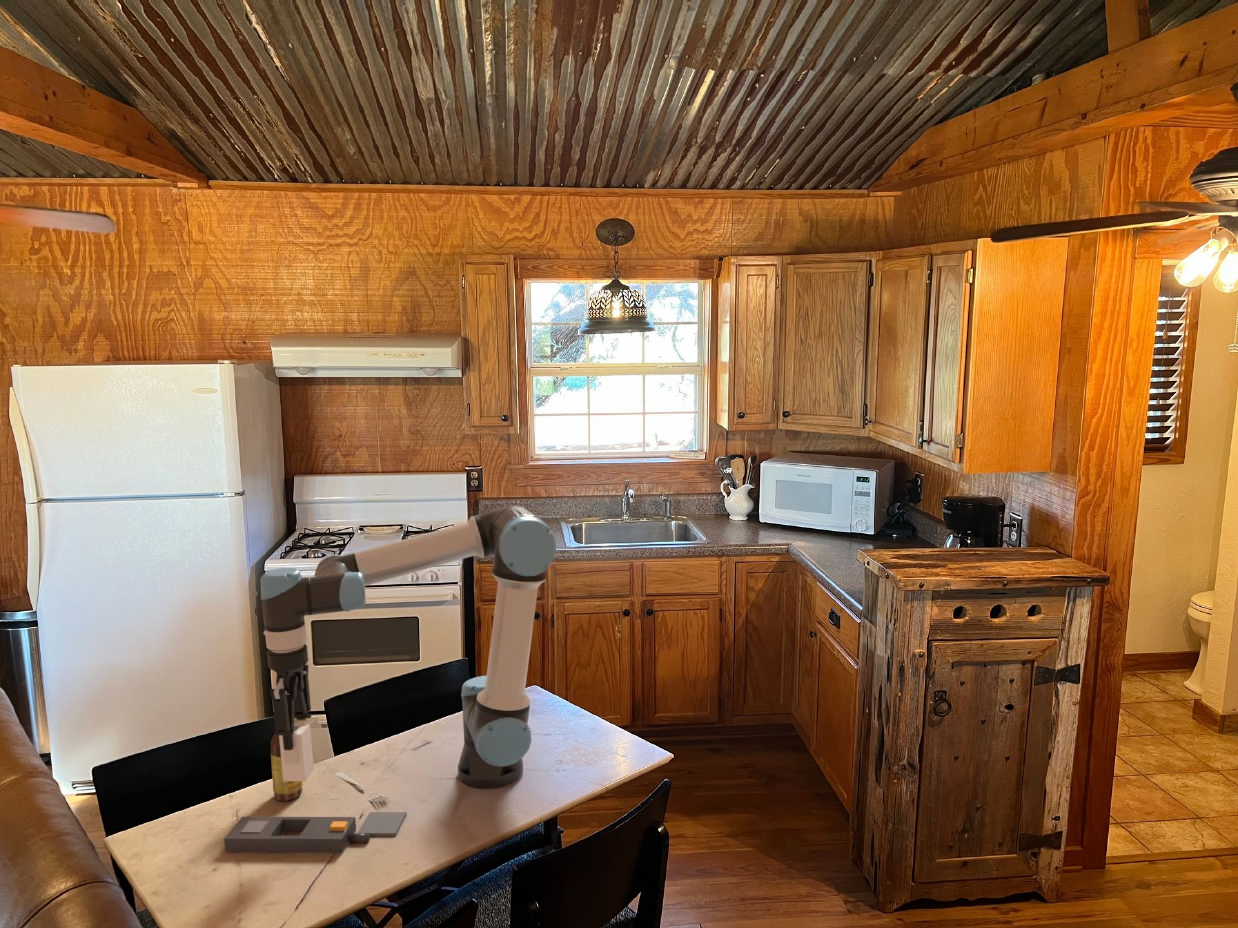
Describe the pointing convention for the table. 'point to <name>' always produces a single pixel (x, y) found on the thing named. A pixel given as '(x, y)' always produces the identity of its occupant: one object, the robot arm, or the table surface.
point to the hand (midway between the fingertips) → (297, 755)
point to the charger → (305, 756)
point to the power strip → (313, 838)
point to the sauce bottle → (280, 787)
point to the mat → (382, 823)
